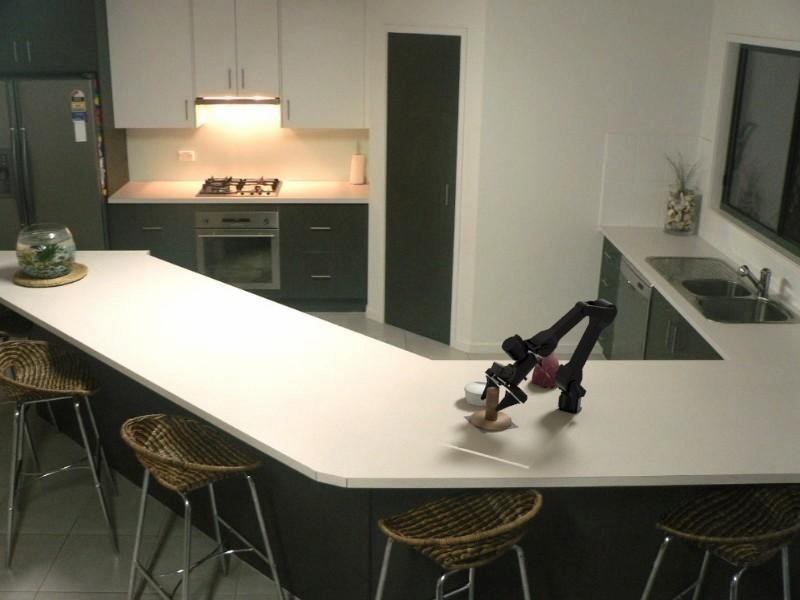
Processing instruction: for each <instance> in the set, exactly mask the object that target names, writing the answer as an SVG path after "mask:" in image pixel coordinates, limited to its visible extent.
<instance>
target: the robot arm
mask: <svg viewBox="0 0 800 600" xmlns="http://www.w3.org/2000/svg"><path fill="white" fill-rule="evenodd" d="M617 308H618V307H617V306H616V305H615V304H614V303H611V302H610V301H608V300H605V299H603V298H598V299H595V300H594V299H593V300H592V299H591V300H585V301H583V300H579V301H577V302H576V303H575V305H574V306H573V307H572V308H571V309H569V311H567V312H566V313H565V314H564V315H562V316H561V317H560V319H558V320H557V321H556V322H555V323H554V324H553V325H552V326H551V327H549V328H547V329H544V330H541V331H539V332H537V333H536V334H534V335H533V336H531V337H530V338H527V339H523V338H522V336H520V335H519V334H518V333H515V334H514V335H513V336H509V337H507V338H505V339H504V340H503V342H502V343H501V349H502V350H503V352H504V353H506V355H508V357H509V358H510V359H511V360H512V361H514V362H513V363H508V364H507V365H505V364H502V363H500V362H497V361H493V363H492V364H491V367H488V368H487V369H486V371H484V374H485V378H486V382H487V383H486V386H485V389H484V391H483V393H482V396H481V398H480V399H481V400H484V399H486V396H487V388H489V387H496V388H498V389H499V390H501V386H503V387H504V388H505V392H504V396H503V398H502V399H501V400H499V404H498V405H497V407H496V408H495V411H496V412H498V411H500V412H501V411H502V410H505V409H507V408H510V407H513V406H517V405H518V404H519V405H521V404H523V405H524V404H525V403H526V402H527V400H528V397H529V396H528V394H527V393H526V392H525V391H524V390H523V389H521V387H519V385H520V384H521V383H522V382H523V381H525V382H526V381H527V380H528V377H527V376H528V375H529V374H530V373H531V372H532V370H534V368H535V366H536V365H538V366H539V367H542V357H548V356H549V355H551V353H552V352H553V351H555V350H556V349H557V348H558V345H559V343H560V340H562V339H563V337H565V336H566V335H567V334H568V333H569V332H571V331H572V330H573V329H574V328H575V327H576V326H577V325H578V324H580V323H581V322H583V320H584V319H585V318H586V317H588V325H587V326H586V327H585V330H584V332H583V333H582V336H581V337H580V340H579V342H578V343H577V345H576V348H575V350H574V352H573V353H572V355H571V357H570V359H569V361H568V362H566V363H565V364H563V363H561V364H560V363H559V365H560V366H559V368H558V371H557V372H556V373H555V375H556V376H555V382H556V384H557V385H558V387H557V388H558V390H560V391H561V392H560V395H558V402H557V410H559V412H565V413H568V414H573V415H577V413H578V414H579V413H580V412H581V411H582V409H583V408H582V406H581V404H582V403H581V402H582V398H583V397H585V395H586V394H587V389H585V388H584V387H583V386H582V382H583V378H584V377H583V376H584V374H583V373H584V371H583V369H584V367H585V365H586V364H587V362H588V359H589V357H590V355H591V354H592V351H593V349H594V348H595V345H596V344H597V342H598V340H599V338H600V336H601V334H602V332H603V331H604V330H605V329H606V328H607V327H609V326H611V325H612V323H613V322H614V321H615V319H616V317H617V316H618V309H617Z"/></svg>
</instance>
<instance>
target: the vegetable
mask: <svg viewBox="0 0 800 600" xmlns="http://www.w3.org/2000/svg"><path fill="white" fill-rule="evenodd" d="M541 358H542V367H539V366H538V365H536V366H535V367H534V368H533V369H532V370H533V371H532V375H531V382H532V385H534V384H535V385H534V386H536V385H537V386H536V387H538V386H539V387H538V388H541V387H555V386H558V385H557V384H556V382H555V376H556V375H555V373H556V372H557V371H558V368H559V366H560V363H559V360H558V357H557V355H556V352H555V350H554V351H553V352H552V353H551V355H549V356H548V357H541ZM555 388H556V387H555Z"/></svg>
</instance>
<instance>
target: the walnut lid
mask: <svg viewBox="0 0 800 600" xmlns="http://www.w3.org/2000/svg"><path fill="white" fill-rule="evenodd" d="M500 390H501V389H498V388H496V387H489V388H487V396H486V406H485V409H482V410H478V411H475V412H473V413H472V414H471V423H472V424H473V427H475V426H476V427H478V428H480V429H484V430H490V431H495V432H499V430H500V431H505V430H504V429H506V430H508V429H507V428H509V427H510V426H511V422H513V421H512V417H511V416H510V415H509V414H507V413H505V412H503V411H501V410H500V411H498V412H496V411H495V408H496V407H497V405H498V404H499V403H500ZM471 423H470V424H471ZM472 424H471V425H472ZM476 427H475V428H476Z"/></svg>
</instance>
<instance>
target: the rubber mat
mask: <svg viewBox="0 0 800 600" xmlns="http://www.w3.org/2000/svg"><path fill="white" fill-rule="evenodd" d="M471 415H472V414H471ZM471 415H466V416H463V418H464V419H465V420H467V422H469V423H470V424H471V425H473V424H472V423H471ZM473 426H474V425H473ZM474 427H475V428H476V429H477V430H478V431H479V432H480V433H481V434H487V433H494V432H496V431H490V430H484V429H480V428H478V427H476V426H474ZM518 428H519V425H517V424H516V423H514V422H513V421H512V422H511V426H510V427H509V428H507V429H504V430H503V431H505V430H511V429H518ZM499 431H500V432H501V430H499ZM499 431H498V432H499Z"/></svg>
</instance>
